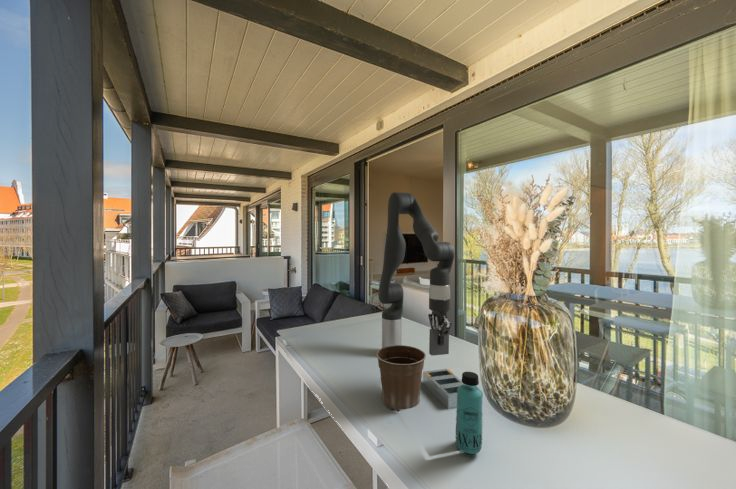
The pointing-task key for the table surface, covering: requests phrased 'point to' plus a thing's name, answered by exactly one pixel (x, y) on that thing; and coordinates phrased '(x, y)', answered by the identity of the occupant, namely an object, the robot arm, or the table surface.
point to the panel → (433, 343)
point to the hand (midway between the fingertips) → (439, 344)
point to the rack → (443, 386)
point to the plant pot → (401, 375)
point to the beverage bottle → (469, 414)
